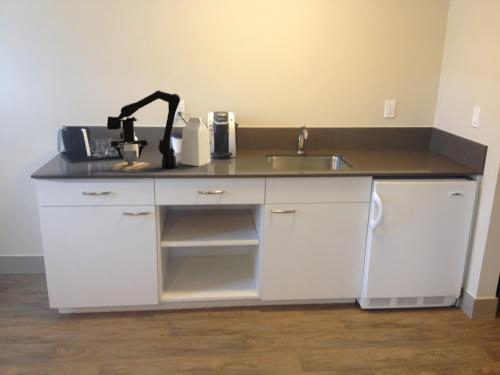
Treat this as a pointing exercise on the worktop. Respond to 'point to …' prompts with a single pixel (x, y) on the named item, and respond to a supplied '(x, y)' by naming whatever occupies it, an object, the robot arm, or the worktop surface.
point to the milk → (195, 143)
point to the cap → (130, 155)
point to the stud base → (130, 166)
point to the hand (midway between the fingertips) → (130, 158)
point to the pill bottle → (132, 145)
